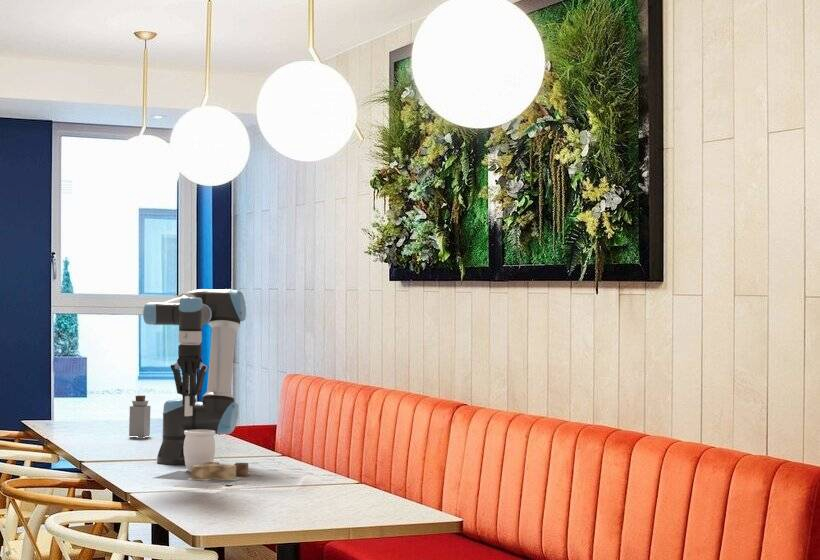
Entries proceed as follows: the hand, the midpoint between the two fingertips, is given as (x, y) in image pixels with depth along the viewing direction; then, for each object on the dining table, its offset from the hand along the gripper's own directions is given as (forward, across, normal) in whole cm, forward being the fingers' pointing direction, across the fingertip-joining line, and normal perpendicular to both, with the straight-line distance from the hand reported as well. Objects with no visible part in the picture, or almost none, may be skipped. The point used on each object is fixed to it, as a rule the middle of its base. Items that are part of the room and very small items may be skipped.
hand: (188, 415), depth 367 cm
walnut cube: (+19, +17, +5) cm, 26 cm away
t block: (+19, +11, -2) cm, 22 cm away
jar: (+21, -1, +11) cm, 24 cm away
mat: (+21, +7, -2) cm, 22 cm away
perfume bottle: (+22, -75, +101) cm, 127 cm away
